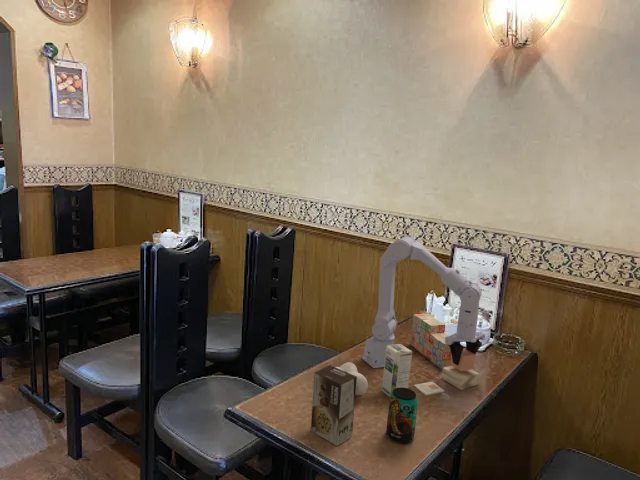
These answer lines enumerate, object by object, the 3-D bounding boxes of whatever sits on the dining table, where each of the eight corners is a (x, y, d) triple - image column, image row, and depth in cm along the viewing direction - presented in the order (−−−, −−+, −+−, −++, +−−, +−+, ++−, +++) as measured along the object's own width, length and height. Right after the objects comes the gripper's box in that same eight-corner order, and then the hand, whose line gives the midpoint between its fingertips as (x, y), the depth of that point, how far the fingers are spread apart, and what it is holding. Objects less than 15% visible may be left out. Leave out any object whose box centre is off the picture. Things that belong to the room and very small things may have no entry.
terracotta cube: (461, 371, 148) (462, 356, 147) (450, 364, 152) (452, 349, 151) (473, 369, 150) (475, 354, 149) (462, 362, 154) (464, 348, 153)
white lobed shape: (318, 387, 142) (320, 359, 140) (355, 384, 146) (357, 356, 144) (330, 407, 131) (332, 377, 130) (370, 403, 135) (373, 373, 134)
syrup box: (380, 390, 143) (385, 345, 140) (396, 387, 145) (401, 342, 143) (391, 400, 138) (396, 353, 135) (408, 396, 140) (413, 350, 138)
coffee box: (353, 436, 119) (358, 376, 116) (336, 447, 114) (341, 385, 111) (325, 421, 125) (330, 363, 122) (309, 430, 120) (313, 371, 117)
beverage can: (381, 437, 119) (385, 393, 117) (393, 425, 125) (397, 383, 122) (407, 448, 115) (412, 403, 113) (418, 435, 121) (423, 392, 119)
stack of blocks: (456, 368, 162) (460, 334, 159) (440, 369, 160) (444, 335, 158) (424, 343, 182) (427, 312, 179) (409, 344, 180) (413, 313, 177)
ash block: (460, 390, 147) (462, 378, 146) (441, 379, 153) (442, 367, 153) (477, 385, 151) (479, 373, 150) (458, 374, 157) (460, 363, 157)
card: (425, 395, 141) (425, 393, 141) (413, 386, 147) (414, 384, 147) (444, 391, 144) (444, 390, 144) (432, 382, 150) (432, 381, 150)
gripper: (457, 329, 142) (452, 371, 144) (494, 324, 148) (488, 365, 150) (442, 320, 148) (437, 361, 150) (478, 316, 154) (472, 355, 157)
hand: (462, 362), depth 151 cm, fingers closed on terracotta cube, 5 cm apart
